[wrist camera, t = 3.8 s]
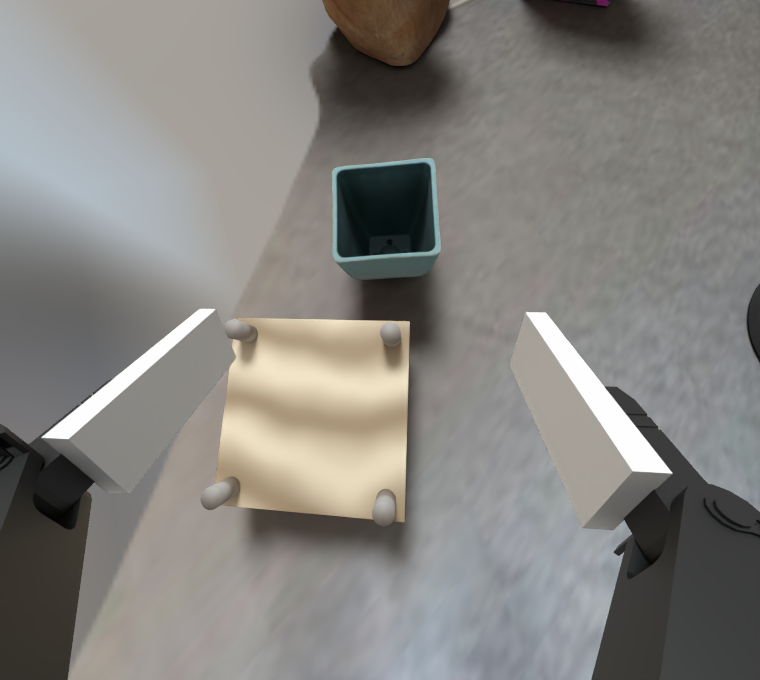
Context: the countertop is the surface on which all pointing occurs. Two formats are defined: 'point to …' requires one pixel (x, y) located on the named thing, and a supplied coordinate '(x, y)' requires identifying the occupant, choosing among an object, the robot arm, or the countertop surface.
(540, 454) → the countertop surface
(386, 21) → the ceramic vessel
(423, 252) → the flower pot
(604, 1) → the candy bar box
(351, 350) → the plant stand
